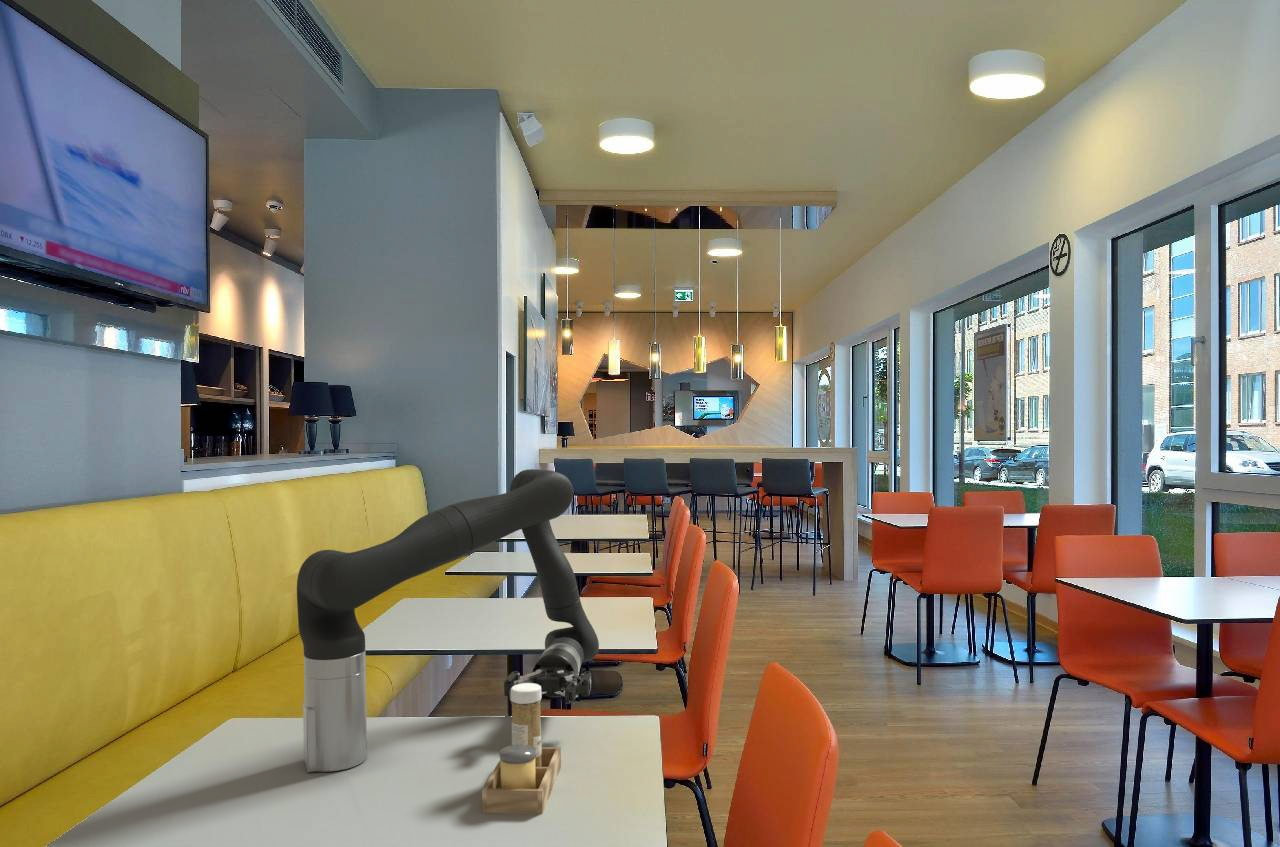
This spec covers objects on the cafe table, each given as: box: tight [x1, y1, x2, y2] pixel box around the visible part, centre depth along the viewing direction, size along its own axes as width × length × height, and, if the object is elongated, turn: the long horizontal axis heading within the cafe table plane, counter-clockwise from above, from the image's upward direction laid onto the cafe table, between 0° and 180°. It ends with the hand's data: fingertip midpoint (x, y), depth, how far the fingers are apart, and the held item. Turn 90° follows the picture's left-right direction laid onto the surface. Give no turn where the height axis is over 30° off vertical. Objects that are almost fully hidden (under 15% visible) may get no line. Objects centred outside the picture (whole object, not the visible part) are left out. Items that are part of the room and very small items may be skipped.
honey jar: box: [499, 744, 536, 789], centre depth 120 cm, size 5×5×7 cm
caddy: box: [481, 746, 562, 815], centre depth 124 cm, size 16×8×4 cm, turn 176°
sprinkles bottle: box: [510, 683, 543, 767], centre depth 128 cm, size 5×5×14 cm
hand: (540, 697), depth 138 cm, fingers open, 8 cm apart
